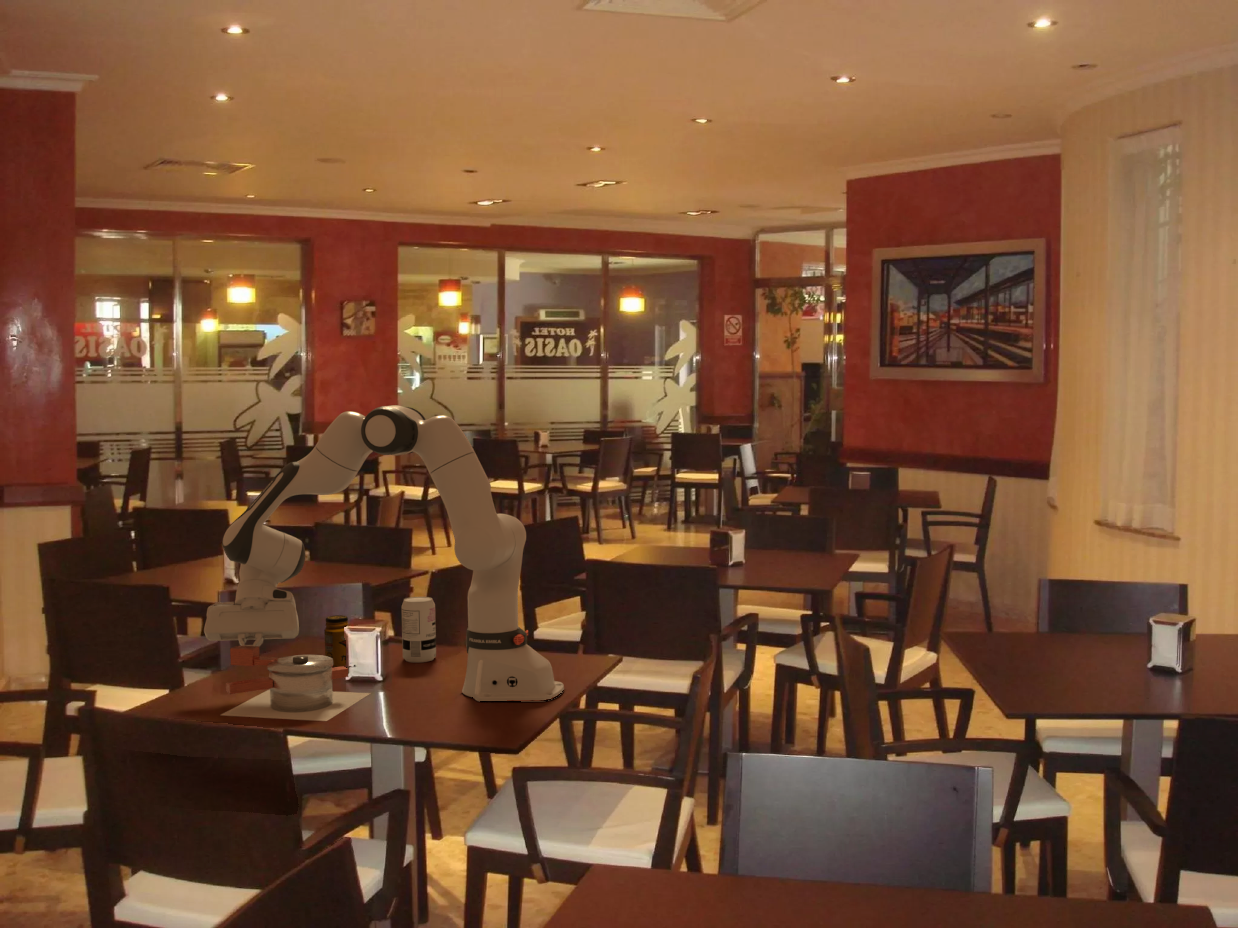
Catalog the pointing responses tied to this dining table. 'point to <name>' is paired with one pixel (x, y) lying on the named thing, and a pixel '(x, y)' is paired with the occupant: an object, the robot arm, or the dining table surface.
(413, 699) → the dining table surface
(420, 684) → the dining table surface
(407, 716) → the dining table surface
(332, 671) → the cooker
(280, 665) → the lid
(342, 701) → the mat
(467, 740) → the dining table surface
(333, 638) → the condiment
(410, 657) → the supplement can
